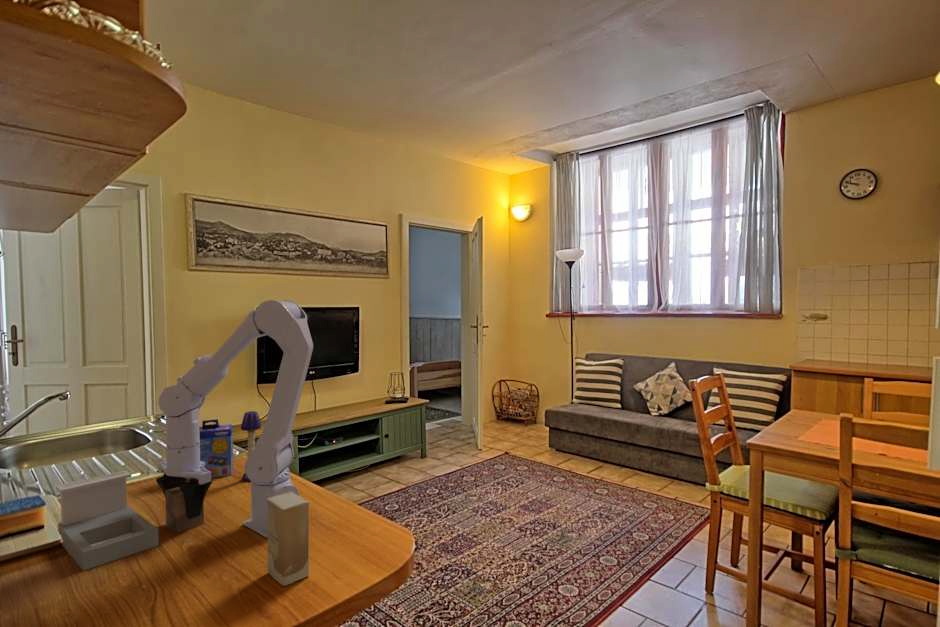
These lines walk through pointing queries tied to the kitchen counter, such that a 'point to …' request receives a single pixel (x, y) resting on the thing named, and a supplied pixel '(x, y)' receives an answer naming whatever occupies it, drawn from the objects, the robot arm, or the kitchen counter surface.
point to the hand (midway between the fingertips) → (184, 513)
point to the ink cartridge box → (216, 448)
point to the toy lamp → (250, 432)
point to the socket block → (102, 521)
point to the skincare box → (288, 538)
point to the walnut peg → (179, 512)
